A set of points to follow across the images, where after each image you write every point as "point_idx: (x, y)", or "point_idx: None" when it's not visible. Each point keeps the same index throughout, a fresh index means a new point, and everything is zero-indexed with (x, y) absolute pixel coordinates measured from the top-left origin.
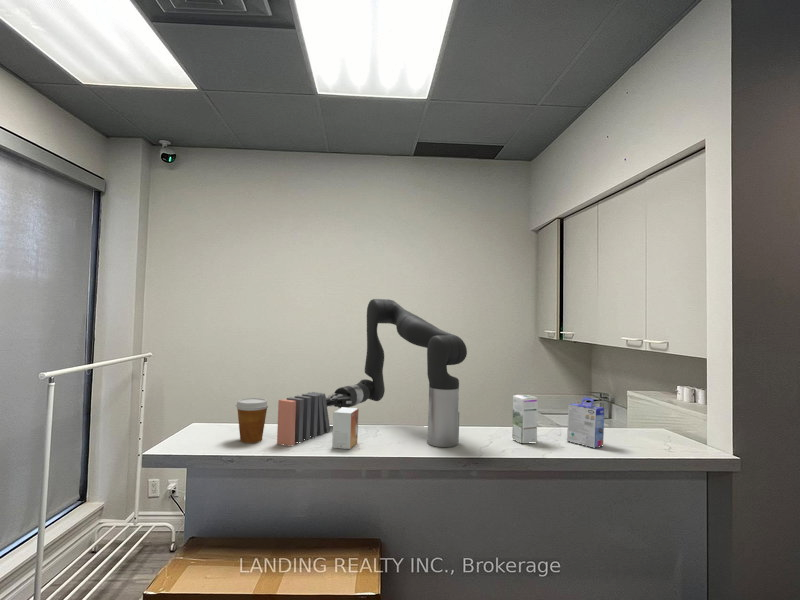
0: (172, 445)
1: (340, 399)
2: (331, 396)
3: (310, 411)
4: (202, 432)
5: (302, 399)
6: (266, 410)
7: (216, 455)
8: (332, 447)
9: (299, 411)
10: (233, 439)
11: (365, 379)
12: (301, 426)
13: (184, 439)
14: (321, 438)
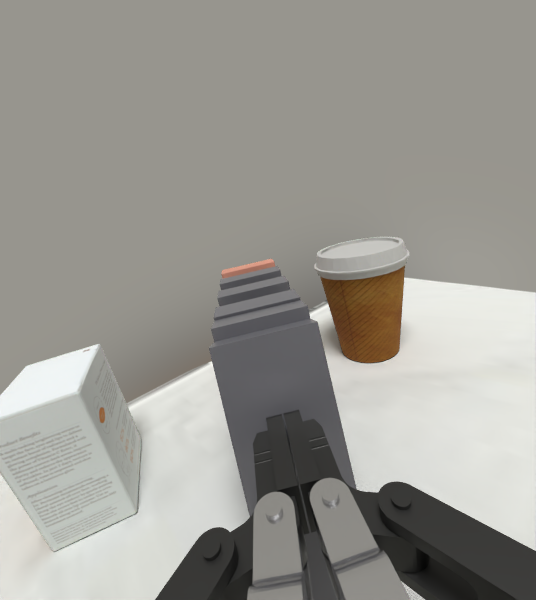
0: (415, 285)
1: (160, 592)
2: (340, 588)
3: None
4: (517, 307)
5: (220, 282)
6: (334, 286)
7: (314, 308)
8: (140, 439)
9: None
10: (403, 331)
11: None
12: None
13: (453, 292)
14: (230, 483)
